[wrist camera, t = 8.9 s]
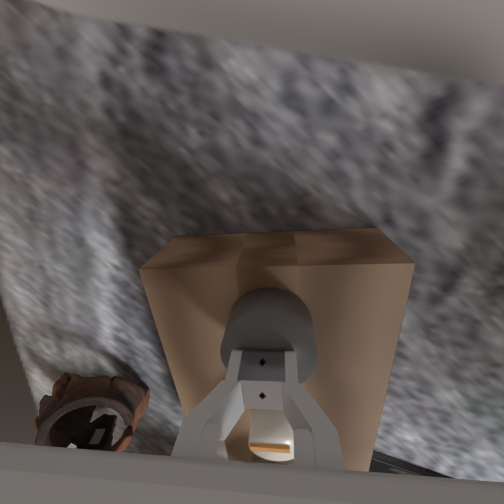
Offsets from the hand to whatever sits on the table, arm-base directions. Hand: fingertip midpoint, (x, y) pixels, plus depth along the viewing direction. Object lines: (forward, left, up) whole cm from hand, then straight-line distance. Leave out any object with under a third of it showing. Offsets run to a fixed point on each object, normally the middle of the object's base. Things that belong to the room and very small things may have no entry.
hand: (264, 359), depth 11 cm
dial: (0, +7, -3) cm, 8 cm away
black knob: (0, 0, -7) cm, 7 cm away
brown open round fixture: (+18, +14, -8) cm, 24 cm away
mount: (0, +7, -8) cm, 11 cm away
